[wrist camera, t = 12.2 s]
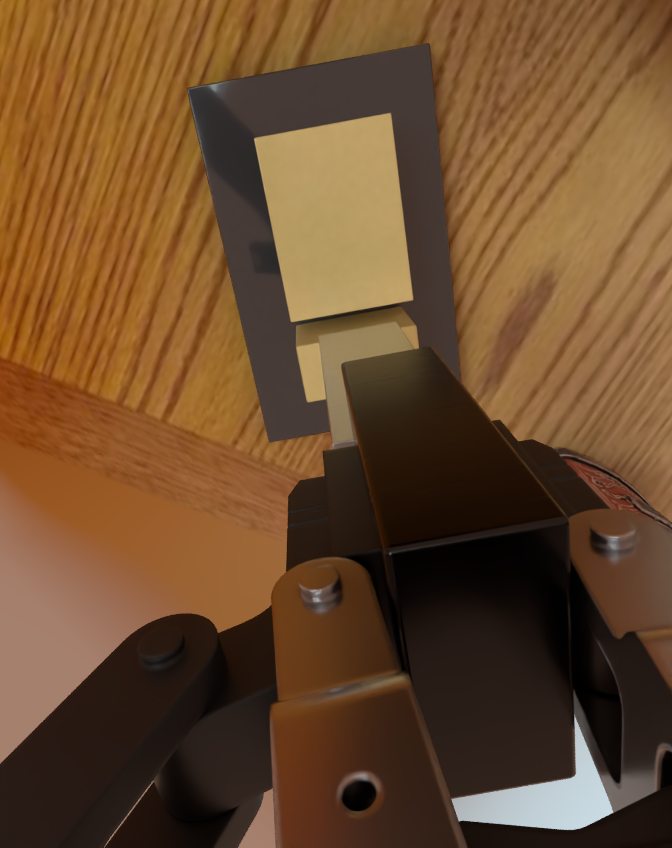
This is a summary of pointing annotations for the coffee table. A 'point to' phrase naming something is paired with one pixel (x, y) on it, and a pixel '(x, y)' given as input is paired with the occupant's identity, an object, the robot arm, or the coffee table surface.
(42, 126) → the coffee table surface
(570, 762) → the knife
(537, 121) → the coffee table surface
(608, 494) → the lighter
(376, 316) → the butter pat
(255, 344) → the butter board
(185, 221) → the coffee table surface
